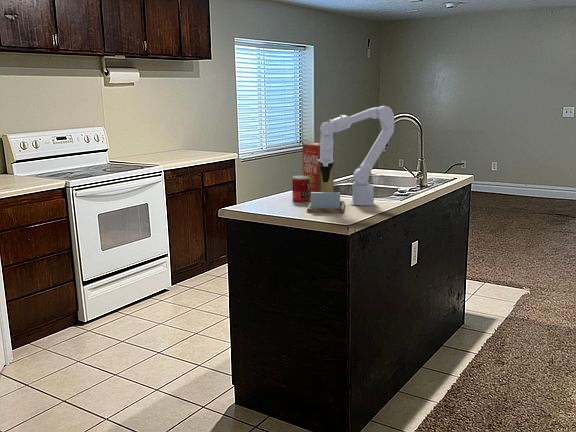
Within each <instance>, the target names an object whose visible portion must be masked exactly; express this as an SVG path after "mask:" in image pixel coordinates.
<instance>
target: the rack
mask: <svg viewBox="0 0 576 432" xmlns="http://www.w3.org/2000/svg"><path fill="white" fill-rule="evenodd" d="M344 211H345V200H340V209H334V208H311V200H309V203H308V206H307V208H306V213H313V214H314V213H316V214H317V213H318V214H319V213H320V214H322V213H324V214H344Z"/></svg>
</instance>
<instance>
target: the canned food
mask: <svg viewBox="0 0 576 432" xmlns="http://www.w3.org/2000/svg"><path fill="white" fill-rule="evenodd" d="M291 188H292V201H293V202H295V203H307V202H310V197H309V191H310V178H309V176H303V175H293V176H292V187H291Z"/></svg>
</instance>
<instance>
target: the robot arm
mask: <svg viewBox="0 0 576 432" xmlns="http://www.w3.org/2000/svg"><path fill="white" fill-rule="evenodd" d="M367 119H375V120H378V122H379V124H380V127H381V131H380V132H379V134H378V136H377V138H376V140H375V141H374V142H373V144H372V146H371V148H370V150H369V151H368V153H367V154H366V156H365V157H364V159H363V161H362V162H361V163H360V164H359V166H358V167H357V168H356V169H354V171H353V173H352V174H353V175H352V176H353V179H354V181H353V182H352V195H351V196H352V201H351V203H350V204H351V206H374V201H375V197H374V188H375V187H374V186H375V185H374V184H372V183H370V182H369V180H370V174H371V173H372V171H373V168H374V166H375V163H377V161H378V159H379V157H380V156H381V154H382V152H383V150H384V149H385V148H386V146H387V144H388V142H389V140H390V139H391V138H392V136H393V134H394V131H395V115H394V112H393V110H392V107H390V106H386V105H381V106H377V107H376V106H375V107H371V108H367V109H366V110H363V111H360V112H357V113H355V114H353V115H349V116H348V115H347V114H340V115H339V117H335V118H333V119H332V118H330V119H329V120H328V121H324V122H322V123H321V125H320V128H319V131H320V139H319V143H320V160H317V161H318V162H321V166H319V168H320V170H321V173H322V178H323V182H328V180H329V177H330V172H331V169H332V166H333V163H331V162H333V144H334V138H333V136H334V135H333V134H334V133H338V132H341V131H344V130H348V129H350V127H351V125H352V124H354V123H357V122H361V121H364V120H367Z"/></svg>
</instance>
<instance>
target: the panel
mask: <svg viewBox="0 0 576 432" xmlns="http://www.w3.org/2000/svg"><path fill="white" fill-rule="evenodd" d="M310 201H311V208H334V209H340V201H341V192H340V191H339V192H337V191H335V192H311V197H310Z"/></svg>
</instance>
